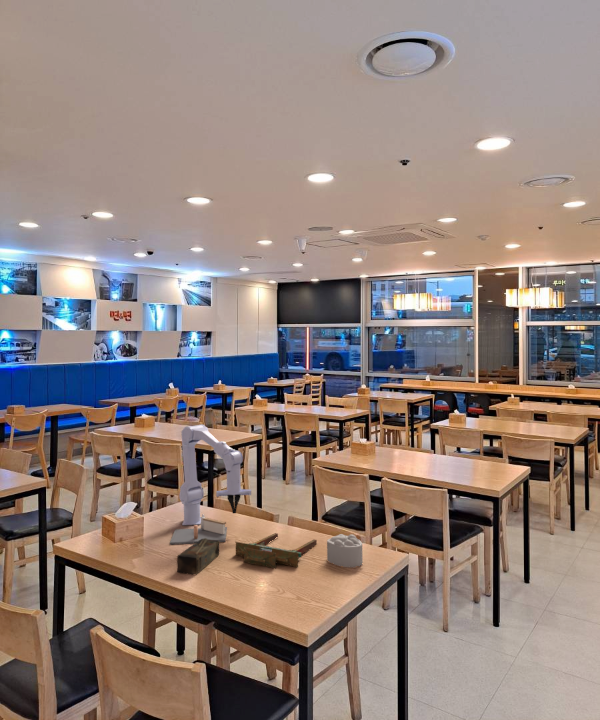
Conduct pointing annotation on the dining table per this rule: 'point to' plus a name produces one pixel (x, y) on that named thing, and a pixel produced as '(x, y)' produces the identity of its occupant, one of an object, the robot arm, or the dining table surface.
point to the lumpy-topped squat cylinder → (344, 551)
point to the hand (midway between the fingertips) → (234, 512)
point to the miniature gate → (270, 552)
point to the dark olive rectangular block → (197, 556)
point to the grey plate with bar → (195, 535)
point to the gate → (213, 525)
